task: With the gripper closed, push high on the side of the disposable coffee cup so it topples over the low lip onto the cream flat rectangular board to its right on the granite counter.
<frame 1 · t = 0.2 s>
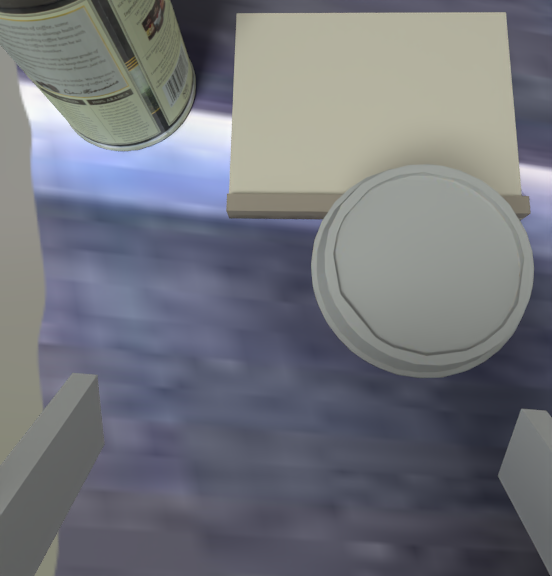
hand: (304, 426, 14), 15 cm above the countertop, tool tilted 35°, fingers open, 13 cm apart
coffee can: (129, 91, 34), on the countertop
disposable coffee cup: (374, 305, 31), on the countertop
cream flat rectangular board: (370, 114, 33), on the countertop
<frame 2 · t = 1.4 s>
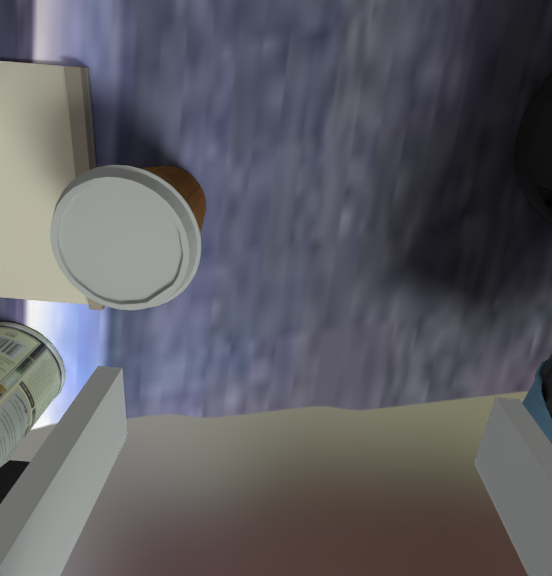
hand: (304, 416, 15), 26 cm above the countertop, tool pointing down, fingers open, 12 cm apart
coffee can: (17, 364, 46), on the countertop
disposable coffee cup: (170, 202, 39), on the countertop
cream flat rectangular board: (6, 190, 39), on the countertop
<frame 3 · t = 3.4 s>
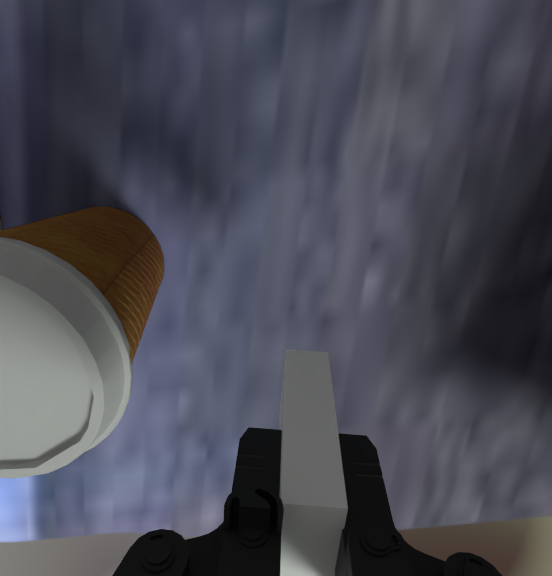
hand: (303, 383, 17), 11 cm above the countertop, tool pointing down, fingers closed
disposable coffee cup: (111, 258, 26), on the countertop
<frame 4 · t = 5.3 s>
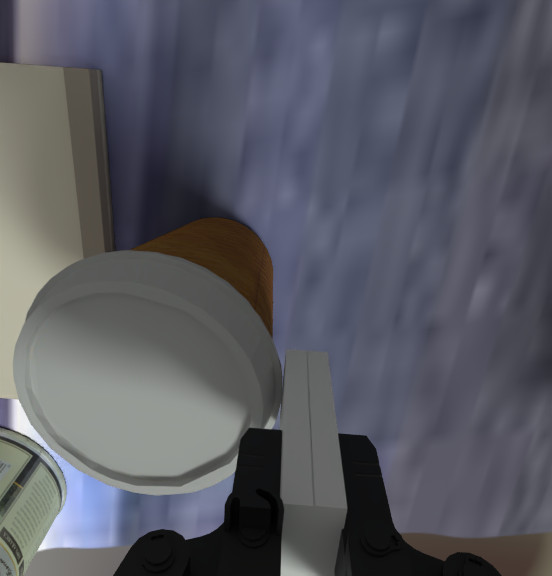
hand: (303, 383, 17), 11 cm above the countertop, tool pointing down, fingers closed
coffee can: (1, 477, 34), on the countertop
disposable coffee cup: (219, 269, 26), on the countertop
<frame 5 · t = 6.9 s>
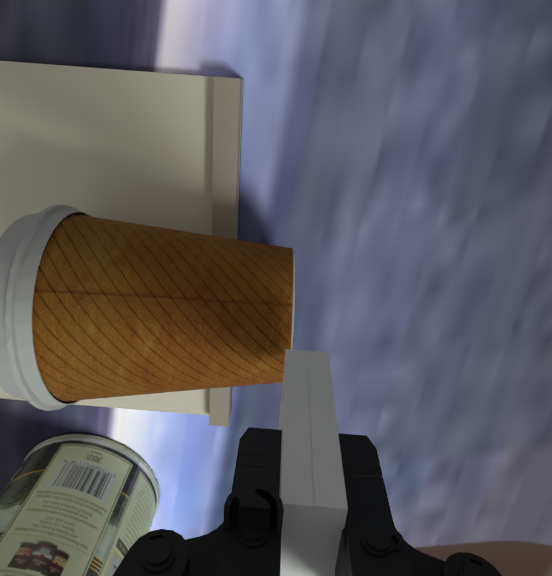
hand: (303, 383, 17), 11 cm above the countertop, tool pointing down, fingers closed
coffee can: (93, 485, 34), on the countertop
disposable coffee cup: (295, 314, 22), point 5 cm above the countertop, touching cream flat rectangular board
cream flat rectangular board: (97, 259, 26), on the countertop
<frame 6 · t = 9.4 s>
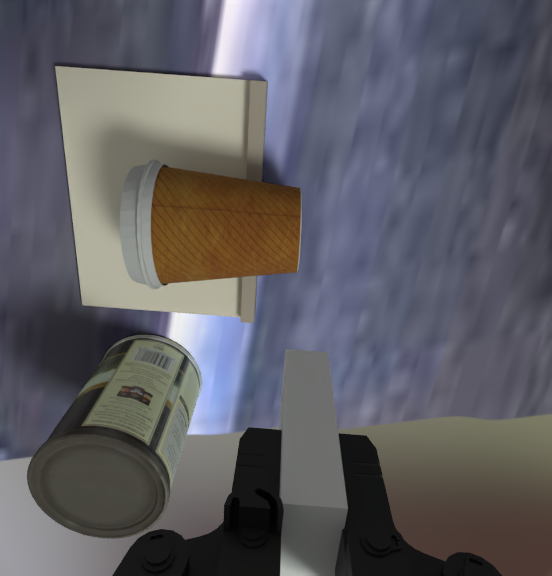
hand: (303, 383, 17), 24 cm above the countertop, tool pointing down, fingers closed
coffee can: (152, 377, 46), on the countertop
disposable coffee cup: (301, 230, 34), point 5 cm above the countertop, touching cream flat rectangular board
cream flat rectangular board: (166, 203, 39), on the countertop
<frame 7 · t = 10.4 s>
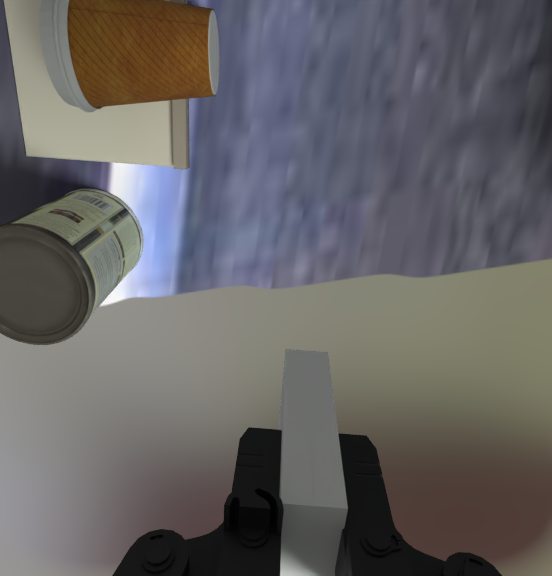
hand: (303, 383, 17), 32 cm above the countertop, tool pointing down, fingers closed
coffee can: (97, 235, 49), on the countertop
disposable coffee cup: (217, 54, 37), point 5 cm above the countertop, touching cream flat rectangular board
cream flat rectangular board: (100, 48, 42), on the countertop
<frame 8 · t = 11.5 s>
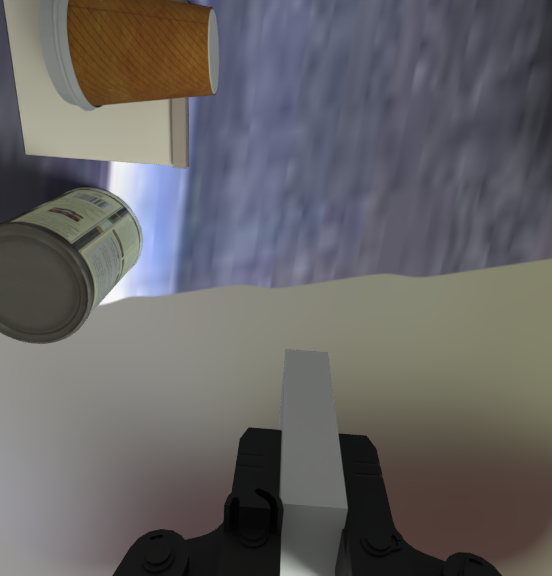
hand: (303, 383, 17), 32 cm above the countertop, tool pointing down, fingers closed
coffee can: (96, 234, 49), on the countertop
disposable coffee cup: (217, 53, 37), point 5 cm above the countertop, touching cream flat rectangular board
cream flat rectangular board: (100, 46, 42), on the countertop
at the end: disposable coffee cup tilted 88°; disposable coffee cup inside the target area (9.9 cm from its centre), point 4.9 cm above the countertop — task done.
